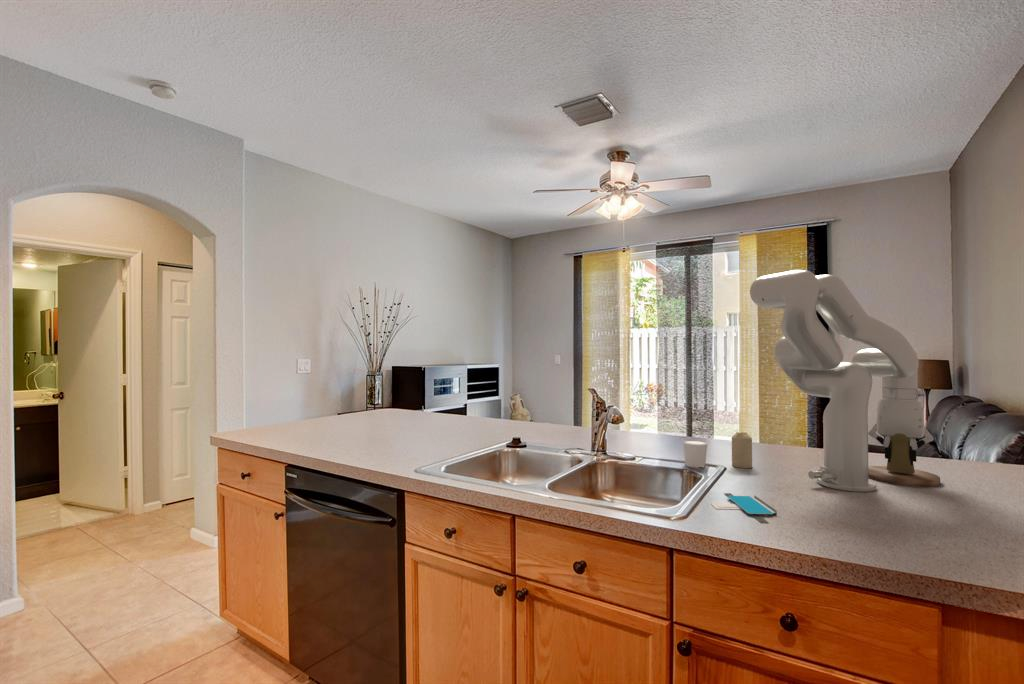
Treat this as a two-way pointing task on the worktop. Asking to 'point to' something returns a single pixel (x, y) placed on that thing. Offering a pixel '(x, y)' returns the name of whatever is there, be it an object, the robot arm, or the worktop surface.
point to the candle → (741, 450)
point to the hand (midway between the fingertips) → (900, 462)
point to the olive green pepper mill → (900, 454)
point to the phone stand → (748, 506)
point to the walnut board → (903, 477)
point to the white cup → (695, 453)
